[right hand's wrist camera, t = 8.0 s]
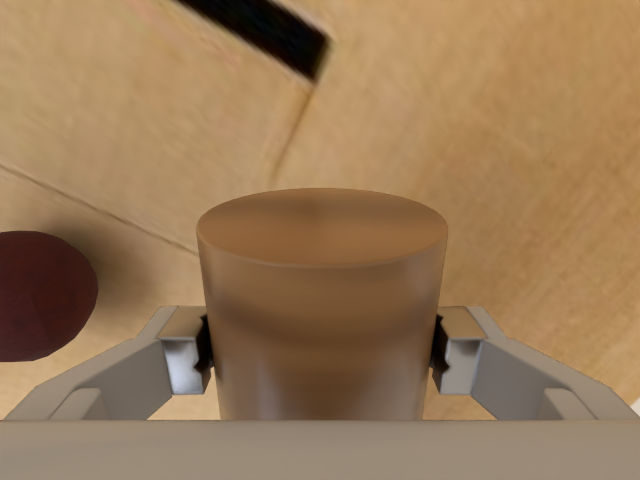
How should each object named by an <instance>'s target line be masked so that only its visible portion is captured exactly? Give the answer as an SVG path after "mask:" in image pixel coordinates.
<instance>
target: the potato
mask: <svg viewBox="0 0 640 480" xmlns="http://www.w3.org/2000/svg"><path fill="white" fill-rule="evenodd" d="M97 294H98V284H97V278H96V275H95V272H94V270H93V269H92V267H91V265H90V263H89V262H88V260H87V259H86V258H85V257H84V256H83V255H82V254H81V253H80V252H79V251H78V250H77V249H75V248H74V247H72V246H71V245H69V244H68V243H67V242H65V241H64V240H62V239H60V238H57V237H55V236H52V235H49V234H45V233H41V232H37V231H10V232H1V233H0V362H21V361H34V360H37V359H40V358H43V357H46V356H49V355H50V354H52V353H54V352H55V351H57V350H59V349H60V348H62V347H63V346H65V345H66V344H68V343H69V342H70V341H71V340H73V339H74V338H75V337H76V336H77V335H78V333H79V332H80V331H81V330H82V328H83V327H84V326H85V324H86V322H87V320H88V319H89V317H90V315H91V313H92V311H93V310H94V307H95V303H96V299H97Z"/></svg>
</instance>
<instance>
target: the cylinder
mask: <svg viewBox="0 0 640 480" xmlns="http://www.w3.org/2000/svg"><path fill="white" fill-rule="evenodd" d="M196 234H197V242H198V249H199V257H200V264H201V272H202V279H203V287H204V295H205V302H206V310H207V317H208V325H209V333H210V340H211V348H212V355H213V363H214V371H215V378H216V386H217V393H218V401H219V408H220V416H221V420H422V415H423V408H424V401H425V394H426V387H427V380H428V373H429V366H430V358H431V351H432V344H433V337H434V330H435V323H436V316H437V309H438V301H439V294H440V287H441V280H442V273H443V266H444V259H445V252H446V244H447V237H448V226H447V223H446V221H445V219H444V218H443V217H442V216H441V215H440V214H439V213H437V212H436V211H435V210H433V209H431V208H429V207H427V206H425V205H423V204H420V203H418V202H415V201H412V200H409V199H406V198H402V197H398V196H394V195H389V194H384V193H378V192H371V191H363V190H353V189H337V188H305V189H288V190H278V191H271V192H264V193H258V194H253V195H248V196H244V197H240V198H237V199H233V200H231V201H228V202H225V203H222V204H220V205H218V206H216V207H214V208H212V209H210V210H209V211H207V212H206V213H205V214H203V215H202V217H201V218H200V219H199V221H198V223H197V226H196Z"/></svg>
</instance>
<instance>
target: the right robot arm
mask: <svg viewBox="0 0 640 480" xmlns="http://www.w3.org/2000/svg"><path fill="white" fill-rule="evenodd" d="M213 366H214V363H213V355H212V348H211V340H210V333H209V325H208V317H207V310H206V306H162V307H160V308H159V309H158V310H157V311H156V313H155V314H154V315H153V317H152V318H151V319H150V320H149V322H148V323H147V324H146V326H145V327H144V328H143V329H142V331H141V332H140V333H139V334H138V336H137V337H136V338H135V339H128V340H126V341H124V342H122V343H121V344H119V345H117V346H115V347H113V348H111V349H109V350H107V351H105V352H103V353H101V354H99V355H97V356H95V357H93V358H91V359H89V360H87V361H85V362H83V363H81V364H79V365H77V366H75V367H73V368H71V369H69V370H67V371H65V372H63V373H61V374H60V375H58V376H56V377H54V378H52V379H50V380H48V381H46V382H44V383H42V384H40V385H38V386H36V387H35V388H34V389H33V390H32V391H31V392H30V393H29V394H28V395H27V396H26V397H25V398H24V399H23V400H22V401H21V402H20V403H19V404H18V405H17V406H16V407H15V408H14V409H13V410H12V411H11V412H10V413H9V414H8V415H7V416H6V417H5V418H4V419H3V420H0V480H640V417H639V416H638V415H637V414H636V413H635V412H634V411H633V410H632V409H631V408H630V407H629V406H628V405H627V404H626V403H625V402H624V401H623V400H622V399H621V398H620V397H619V396H618V395H617V394H616V393H615V392H614V391H613V390H612V389H611V388H610V387H609V386H607V385H605V384H603V383H601V382H599V381H597V380H595V379H593V378H591V377H589V376H587V375H585V374H583V373H581V372H579V371H577V370H575V369H573V368H571V367H569V366H567V365H565V364H563V363H561V362H559V361H557V360H555V359H553V358H551V357H549V356H547V355H545V354H543V353H541V352H539V351H537V350H535V349H533V348H531V347H529V346H527V345H525V344H523V343H521V342H519V341H517V340H516V339H508V337H507V336H506V335H505V334H504V332H503V331H502V330H501V329H500V327H499V326H498V325H497V324H496V322H495V321H494V320H493V319H492V317H491V316H490V315H489V314H488V312H487V311H486V310H485V309H484V307H482V306H480V305H479V306H451V307H438V309H437V316H436V323H435V330H434V337H433V344H432V351H431V358H430V367H431V368H433V374H432V377H433V379H434V382H435V384H436V386H437V389H438V391H439V394H447V395H472V396H471V397H472V398H474V399H475V400H476V401H477V402H478V403H479V404H480V405H481V406H483V407H484V408H485V409H486V410H487V411H488V412H489V413H491V414H492V415H493V416H494V417H495V418H496V419H497V420H146V419H148V418H149V417H150V416H151V415H152V414H153V413H154V412H156V411H157V410H158V409H159V408H160V407H161V406H162V405H163V404H165V403H166V402H167V401H168V400H169V399H170V398H171V397H172V395H195V394H204V393H205V390H206V388H207V385H208V383H209V380H210V378H211V371H210V368H212V367H213Z"/></svg>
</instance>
